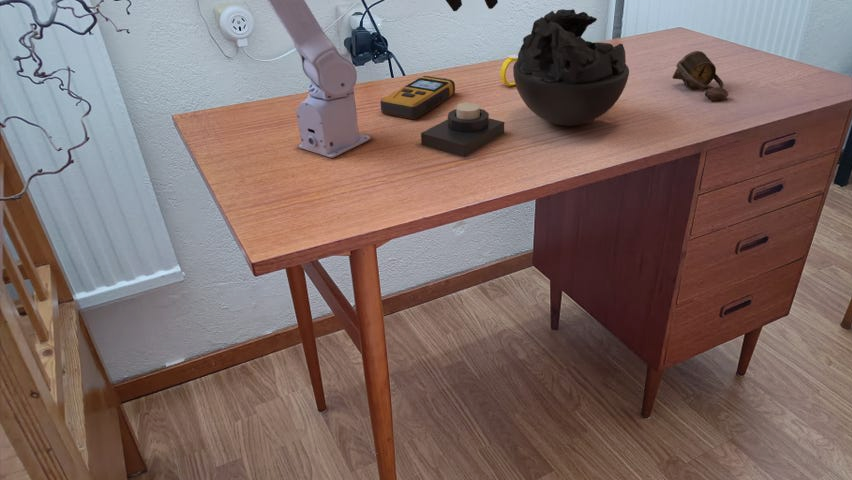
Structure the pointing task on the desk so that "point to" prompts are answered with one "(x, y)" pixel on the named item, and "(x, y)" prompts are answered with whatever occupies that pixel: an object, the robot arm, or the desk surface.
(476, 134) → the switch box
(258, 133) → the desk surface
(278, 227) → the desk surface
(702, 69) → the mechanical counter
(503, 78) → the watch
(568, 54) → the coal bowl
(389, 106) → the electronic device
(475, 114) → the power button
